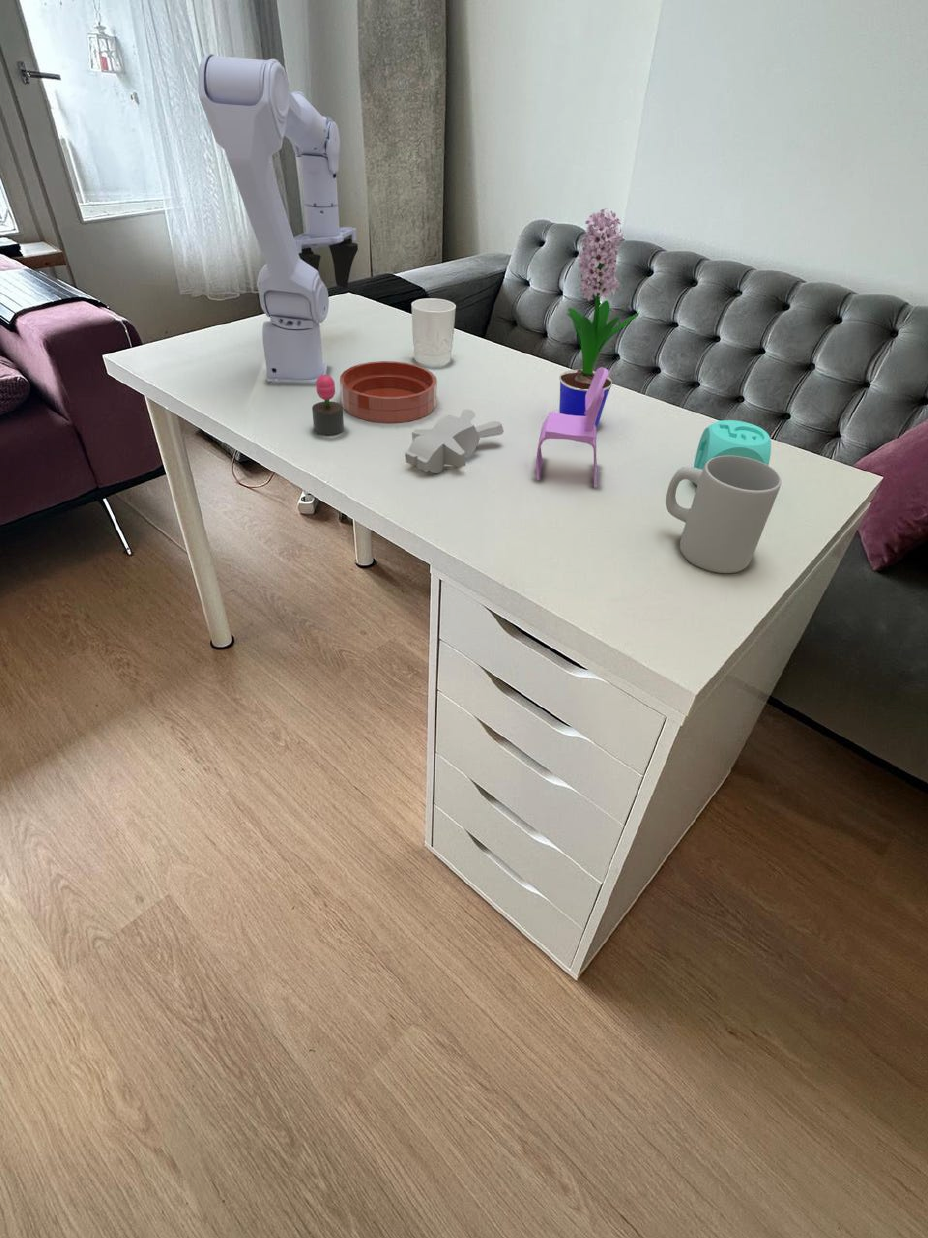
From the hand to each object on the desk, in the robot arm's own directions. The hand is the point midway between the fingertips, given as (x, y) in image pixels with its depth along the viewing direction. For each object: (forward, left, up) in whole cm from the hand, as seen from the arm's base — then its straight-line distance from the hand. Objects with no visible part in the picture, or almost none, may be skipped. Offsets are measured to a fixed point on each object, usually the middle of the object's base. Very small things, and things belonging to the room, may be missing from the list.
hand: (327, 290), depth 122 cm
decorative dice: (+58, -52, -10) cm, 78 cm away
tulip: (+2, -37, -10) cm, 38 cm away
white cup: (+19, -7, -10) cm, 23 cm away
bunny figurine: (+20, -44, -10) cm, 49 cm away
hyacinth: (+42, -33, -10) cm, 54 cm away
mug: (+49, -67, -10) cm, 84 cm away
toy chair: (+36, -49, -10) cm, 62 cm away
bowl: (+11, -27, -10) cm, 31 cm away
